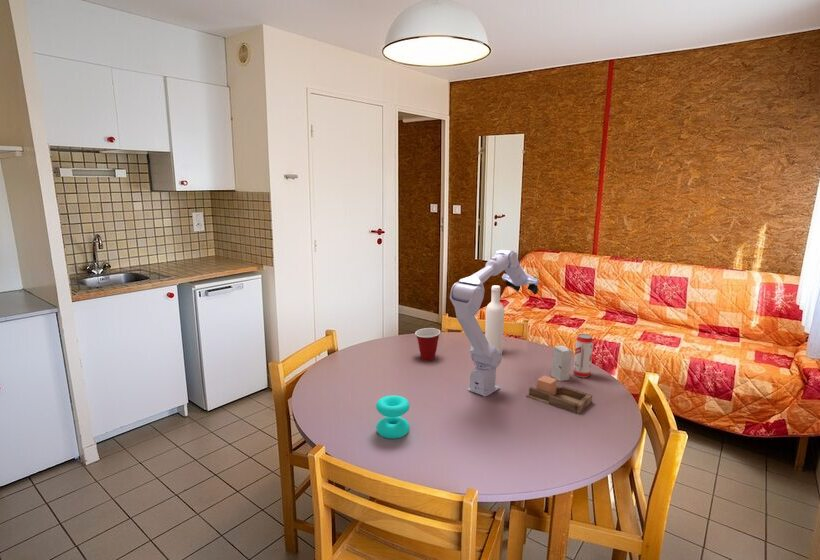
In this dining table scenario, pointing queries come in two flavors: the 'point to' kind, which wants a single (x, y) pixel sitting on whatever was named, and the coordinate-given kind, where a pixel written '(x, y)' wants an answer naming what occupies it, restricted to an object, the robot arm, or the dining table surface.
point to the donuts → (392, 416)
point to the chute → (563, 398)
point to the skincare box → (561, 363)
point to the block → (547, 384)
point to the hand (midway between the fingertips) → (527, 290)
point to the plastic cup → (427, 342)
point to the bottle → (495, 320)
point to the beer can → (583, 355)
